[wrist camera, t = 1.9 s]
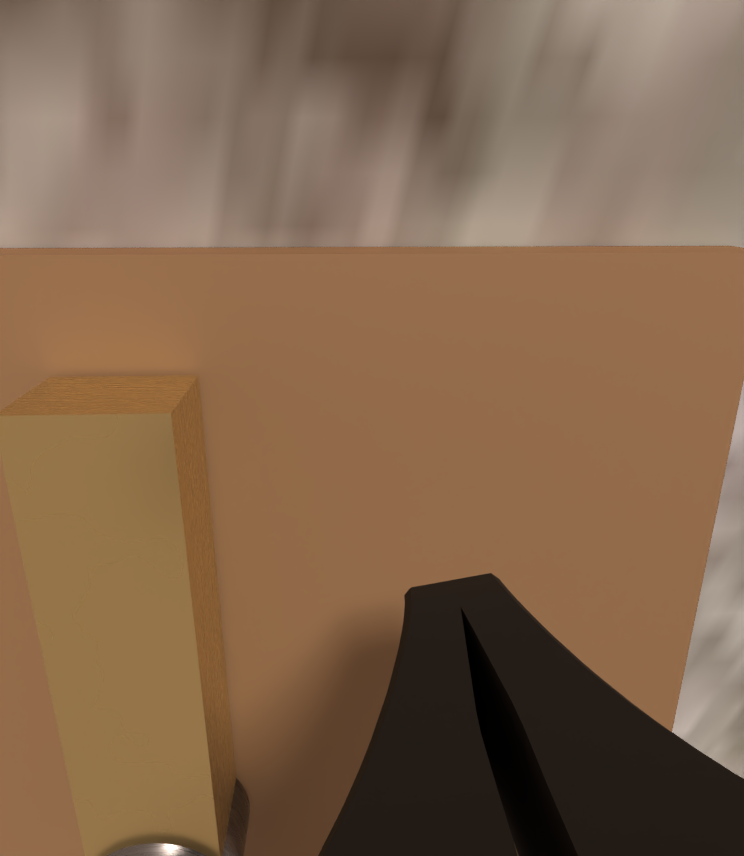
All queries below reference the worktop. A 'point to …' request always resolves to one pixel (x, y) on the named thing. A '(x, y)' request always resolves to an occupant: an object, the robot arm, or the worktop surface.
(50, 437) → the latch arm
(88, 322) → the door mockup
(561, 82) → the worktop surface
